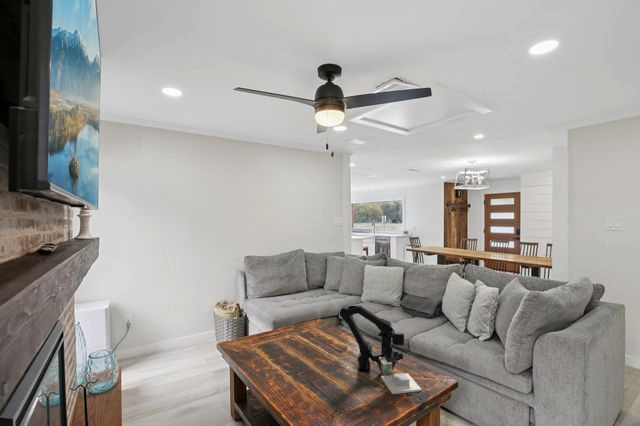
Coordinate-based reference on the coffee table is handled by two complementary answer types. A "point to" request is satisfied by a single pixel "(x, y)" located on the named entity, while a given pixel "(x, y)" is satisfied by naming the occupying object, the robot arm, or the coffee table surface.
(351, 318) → the robot arm
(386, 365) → the sage block
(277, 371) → the coffee table surface
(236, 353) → the coffee table surface
